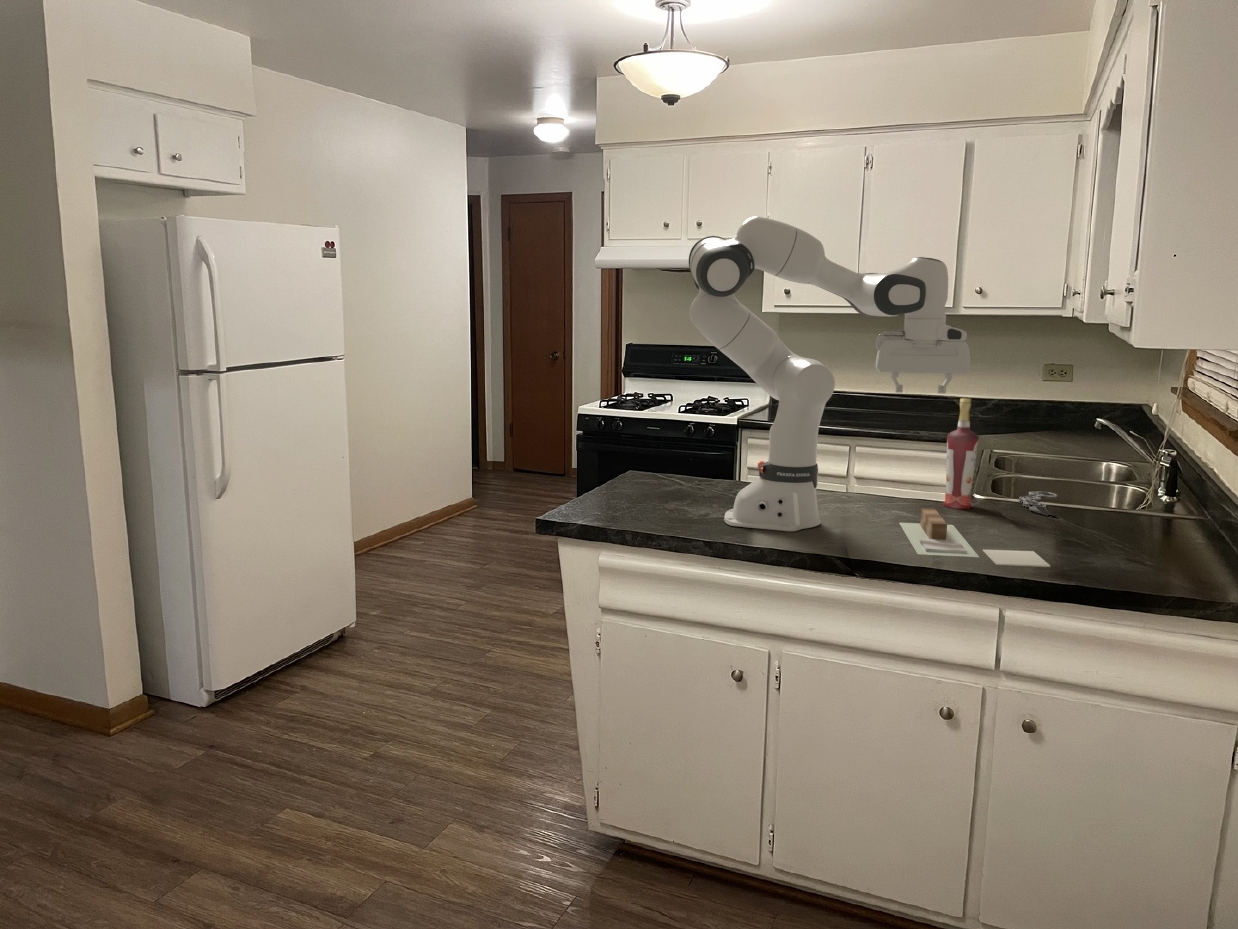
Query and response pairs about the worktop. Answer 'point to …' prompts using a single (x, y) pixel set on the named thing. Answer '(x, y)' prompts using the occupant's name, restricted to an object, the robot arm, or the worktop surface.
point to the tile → (1016, 558)
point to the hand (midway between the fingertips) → (920, 392)
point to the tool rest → (916, 532)
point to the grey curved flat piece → (1036, 501)
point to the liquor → (961, 460)
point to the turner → (937, 534)
